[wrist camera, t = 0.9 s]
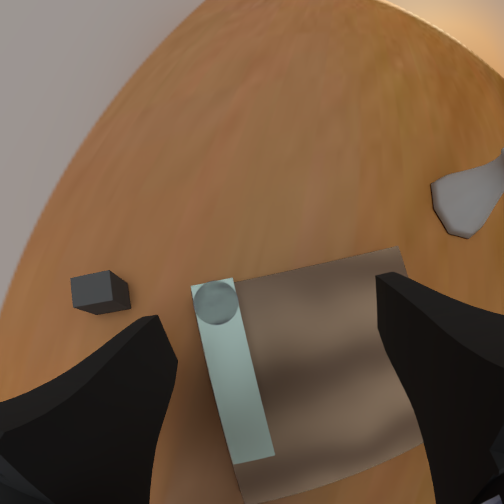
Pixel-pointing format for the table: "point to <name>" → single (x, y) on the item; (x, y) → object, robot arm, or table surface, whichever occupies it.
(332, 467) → the stool seat
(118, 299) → the block
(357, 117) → the table surface
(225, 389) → the folding leg
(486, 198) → the flask
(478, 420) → the robot arm
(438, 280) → the table surface
